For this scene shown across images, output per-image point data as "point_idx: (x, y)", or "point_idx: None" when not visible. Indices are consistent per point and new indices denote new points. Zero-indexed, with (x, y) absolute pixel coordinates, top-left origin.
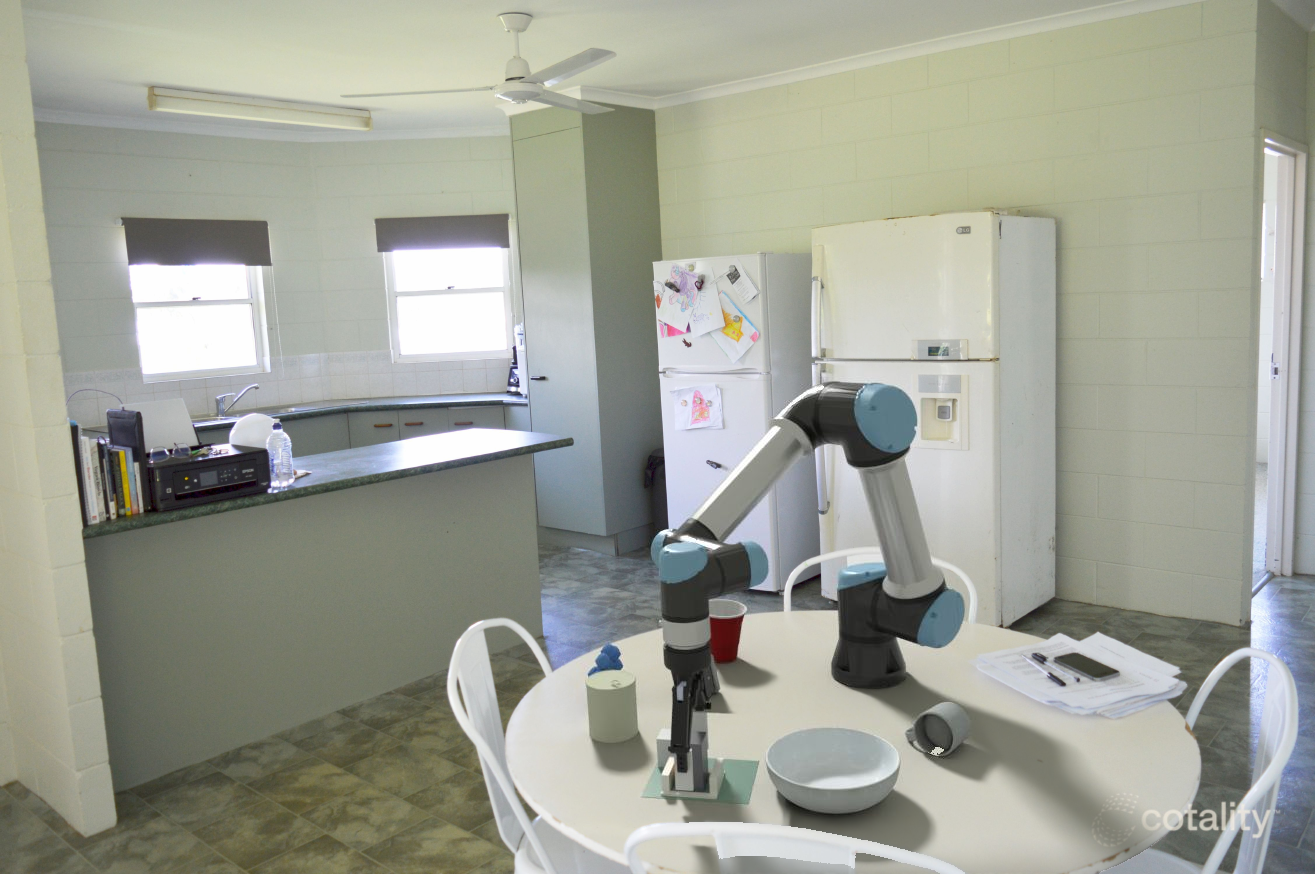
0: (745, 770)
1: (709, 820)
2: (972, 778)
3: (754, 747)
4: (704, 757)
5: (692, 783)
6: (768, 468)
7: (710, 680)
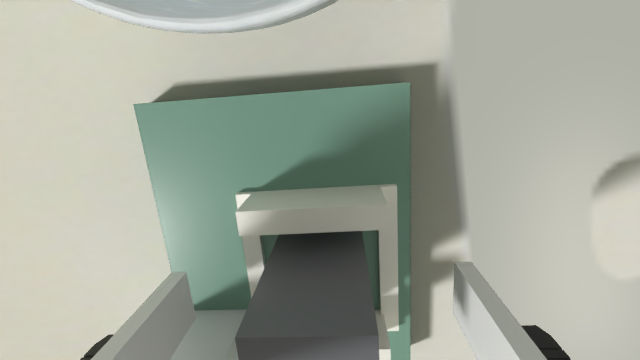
0: (206, 134)
1: (456, 182)
2: None
3: (32, 143)
4: (323, 279)
5: (482, 276)
6: None
7: None
